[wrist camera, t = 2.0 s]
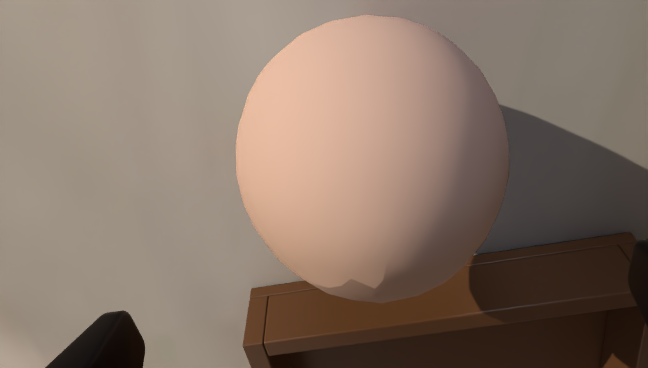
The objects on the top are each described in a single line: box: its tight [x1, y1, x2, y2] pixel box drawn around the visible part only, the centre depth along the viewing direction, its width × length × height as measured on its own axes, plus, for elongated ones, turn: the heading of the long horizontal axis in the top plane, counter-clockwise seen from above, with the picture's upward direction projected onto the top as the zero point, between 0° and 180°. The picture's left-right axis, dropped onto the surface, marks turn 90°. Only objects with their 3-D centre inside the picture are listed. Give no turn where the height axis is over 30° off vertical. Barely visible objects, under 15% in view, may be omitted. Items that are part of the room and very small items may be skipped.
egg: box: [236, 15, 509, 303], centre depth 14 cm, size 7×7×8 cm
